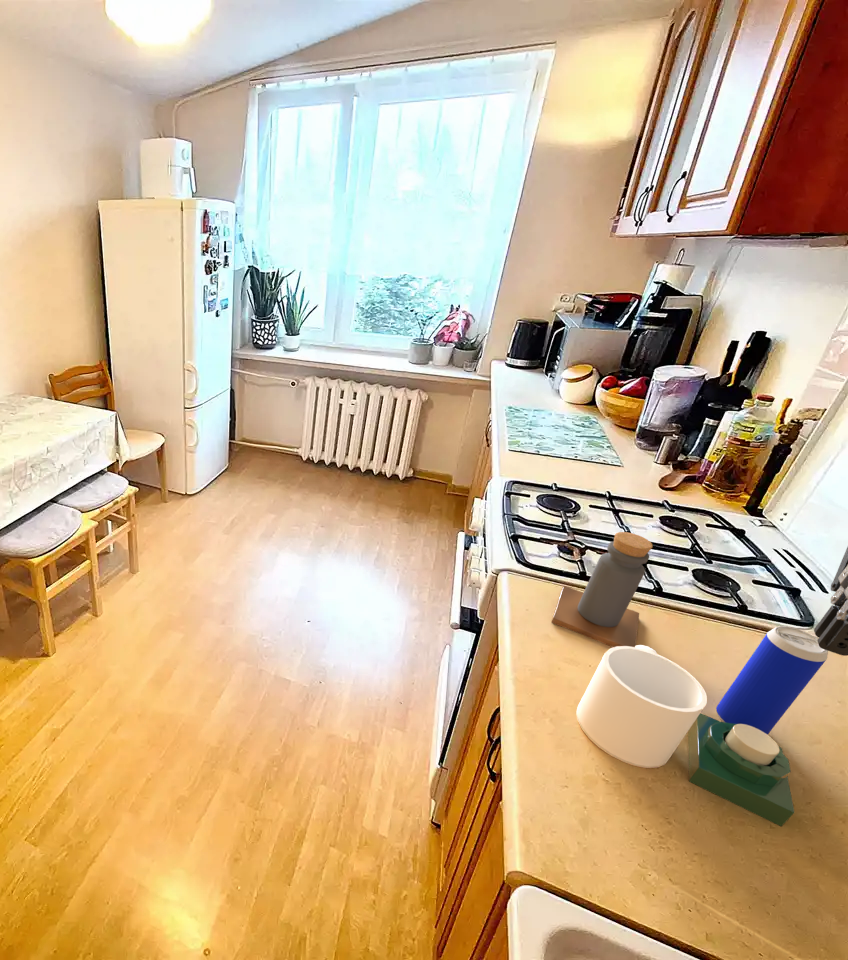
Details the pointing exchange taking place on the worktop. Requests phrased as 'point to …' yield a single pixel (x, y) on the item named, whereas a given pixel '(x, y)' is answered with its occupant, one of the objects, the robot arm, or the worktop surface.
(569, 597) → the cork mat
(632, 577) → the bottle
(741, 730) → the cream disc
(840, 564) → the robot arm
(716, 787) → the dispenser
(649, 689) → the mug
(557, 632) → the worktop surface
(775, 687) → the beverage can
